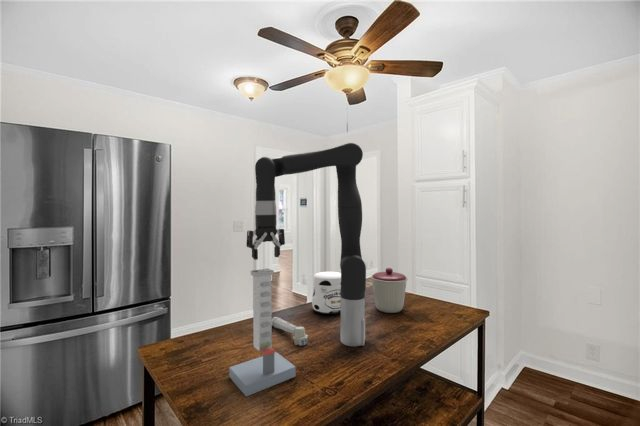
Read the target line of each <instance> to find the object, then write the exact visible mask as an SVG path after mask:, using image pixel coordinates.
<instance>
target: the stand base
mask: <svg viewBox="0 0 640 426" xmlns="http://www.w3.org/2000/svg"><path fill="white" fill-rule="evenodd" d="M261 353H262V356H259V357H256V358H253V359H250V360H247V361H244V362H241V363H238V364H235V365H232V366H229V372H228V373H229V379H231V380H232V382H233V384H235V385H236V387H237V388H238V389H239V390H240V391H241V392H242V393H243V395H244V396H245V397H249V396H251V395H254V394H255V393H259V392H261V391H263V390H266V389H268V388H271V387H273V386H275V385H278V384H281V383H284V382H286V381H288V380H290V379H293V378H295V377H296V374H297V373H296V371H297V368H296V366H295V365H294V364H293V363H291V361H289V360H288V359H286V358H285V357H284V356H283V355H281V354H280V353H278V352H277V351H276V350H275V349H274V348H273V347H272V348H269V349H266V350H263V351H261Z"/></svg>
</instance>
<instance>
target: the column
mask: <svg viewBox="0 0 640 426" xmlns="http://www.w3.org/2000/svg"><path fill="white" fill-rule="evenodd" d="M274 273H275V272H274V270H273V269H271V268H263V269H262V268H261V269H254V270H250V276H253V277H252V283H253V284H252V286H253V287H252V288H253V289H252V291H253V295H252V297H253V300H252V301H253V303H252V304H253V305H252V307H253V309H252V310H253V314H252V315H253V316H252V317H253V319H252V321H253V323H252V325H253V330H252V331H253V340H252V341H253V348H254V349H255V350H257V351H258V352H262V351H264V350H267V349H270V348H273V347H272V345H273V344H272V342H273V341H272V334H273V333H272V327H273V326H272V317H273V316H272V275H274Z"/></svg>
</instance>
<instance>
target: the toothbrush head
mask: <svg viewBox="0 0 640 426" xmlns="http://www.w3.org/2000/svg"><path fill="white" fill-rule="evenodd" d="M272 327H274V328H275V329H279V330H282V331H285V332H287V333H290V334H292V339H293V341H294V345H295V346H306V345H307V344H308V339H309V337H308V336H309V335H308V334H306V329H305V327H304V326H296V325H295V324H292V323H290V322H289V321H286V320H284V319H282V318H281V317H280V316H272Z"/></svg>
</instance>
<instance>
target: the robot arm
mask: <svg viewBox="0 0 640 426" xmlns="http://www.w3.org/2000/svg"><path fill="white" fill-rule="evenodd" d="M363 155H364V154H363V150H362V148H361V147H360V145H358V144H357V143H354V142H346V143H344V144H341V145H337V146H335V147H331V148H327V149H324V150H317V151H309V152H308V151H307V152H302V153H292V154H287V155H283V156H282V157H278V158H272V159H271V158H270V157H267V156H263V157H260V158H258V159H257V161H256V162H255V167H254V169H255V170H254V172H255V183H256V186H255V187H256V189H255V207H254V209H255V210H254V213H255V216H254V220H255V224H254V225H255V230H251V229H250V230H247V231H246V247H247V248H250V249H251V257H252V259H253V260H254V261H257V260H258V259H259V256H258V255H259V249H258V248H259V246H260V245H261V244H262V243H267V242H271V243H272V244H273V245H274V248H273V249H274V252H273V253H274V257H275V258H279V256H280V255H281V247H282V246H285V244H286V242H285V241H286V239H285V229H284V228H278V229H277V204H276V199H277V198H276V188H275V186H276V185H275V184H276V178H277V177H281V176H287V175H295V174H301V173H305V172H311V171H314V170H319V169H323V168H329V167H335V171H336V177H337V216H338V217H337V219H338V227H339V234H340V243H341V247H340V248H341V249H340V250H341V251H340V252H341V253H340V261H339V267H340V273H341V290H340V293H341V296H340V313H339V314H340V319H339V320H340V323H339V324H340V326H339V327H340V333H339V334H340V336H339V337H340V343H341V344H342V345H344V346H347V347H359V346H365V341H366V314H365V313H366V306H365V304H366V303H365V302H366V299H365V298H366V290H367V289H366V288H367V287H366V285H367V267H366V264H365V261H364V260H363V258H362V256H363V255H362V252H361V233H362V227H363V206H362V205H363V204H362V199H361V195H360V192H359V187H358V184H357V166H358V165H359V164H360V163H361V162H362V159H363ZM276 235H278V237H277V236H276ZM254 236H255V239H254Z"/></svg>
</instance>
